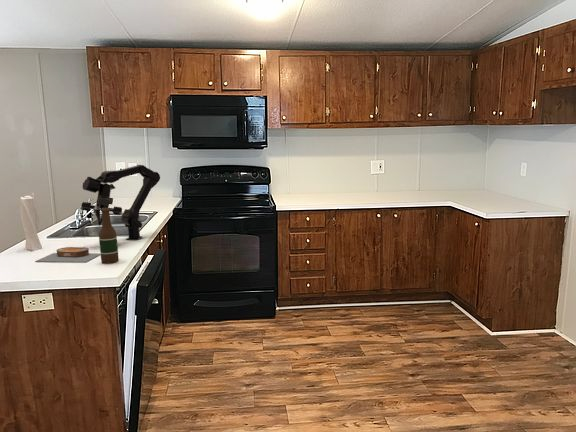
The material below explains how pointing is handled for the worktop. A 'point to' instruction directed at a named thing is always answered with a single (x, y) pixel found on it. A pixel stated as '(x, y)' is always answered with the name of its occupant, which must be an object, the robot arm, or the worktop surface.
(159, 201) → the worktop surface
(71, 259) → the slate mat
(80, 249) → the tin
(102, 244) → the beer bottle
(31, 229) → the skyscraper
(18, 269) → the worktop surface
